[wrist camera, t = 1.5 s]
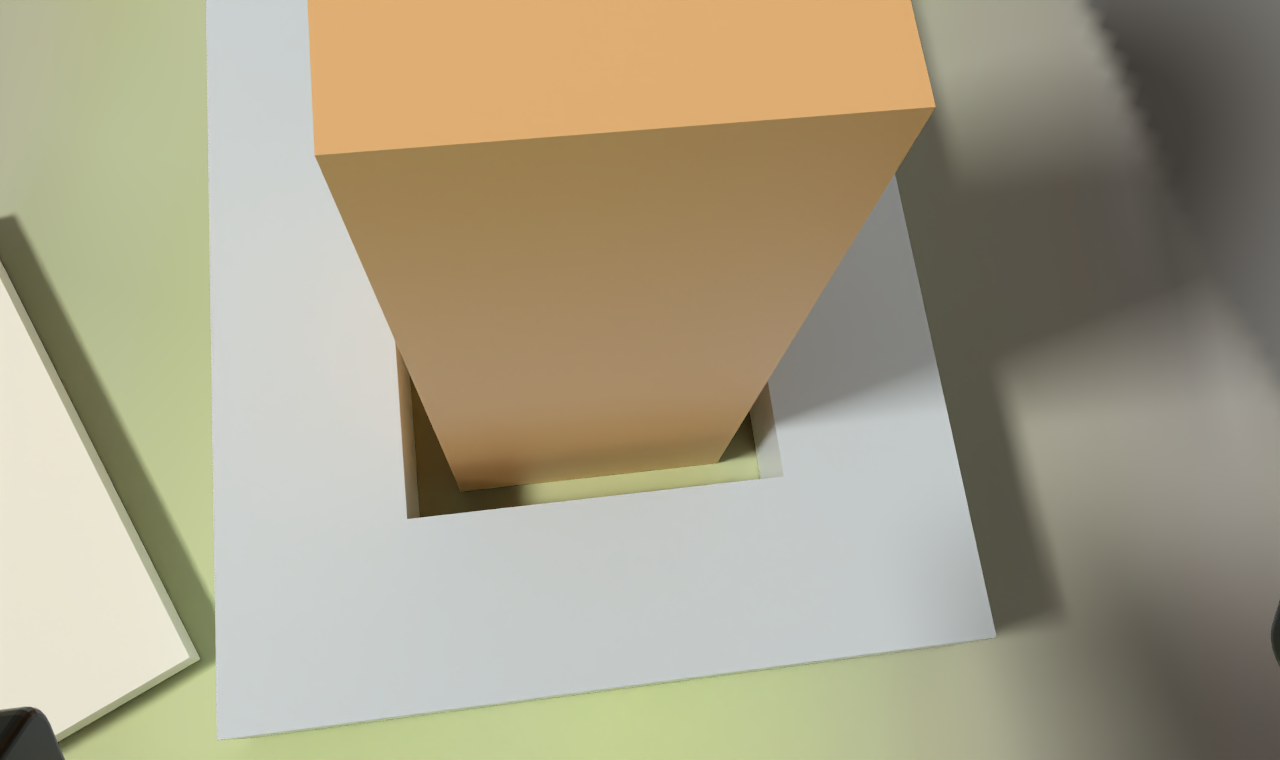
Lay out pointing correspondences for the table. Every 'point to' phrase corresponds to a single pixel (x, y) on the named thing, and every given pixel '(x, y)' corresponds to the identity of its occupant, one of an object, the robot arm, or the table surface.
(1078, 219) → the table surface
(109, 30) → the table surface
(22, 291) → the table surface
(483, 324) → the module
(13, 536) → the pad
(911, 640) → the dock
